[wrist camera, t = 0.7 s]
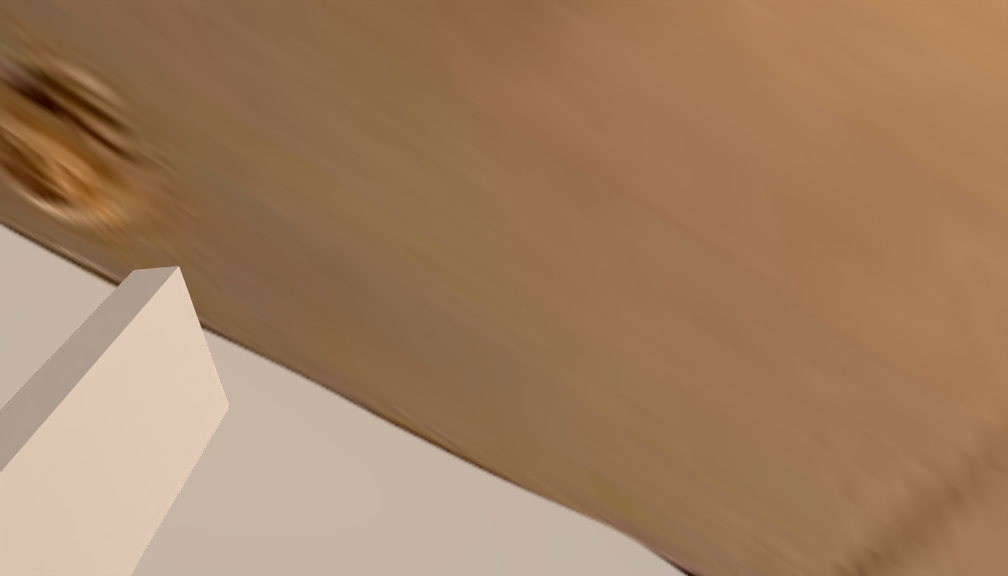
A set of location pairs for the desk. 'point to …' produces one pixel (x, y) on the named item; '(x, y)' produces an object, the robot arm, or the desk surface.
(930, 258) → the desk surface
